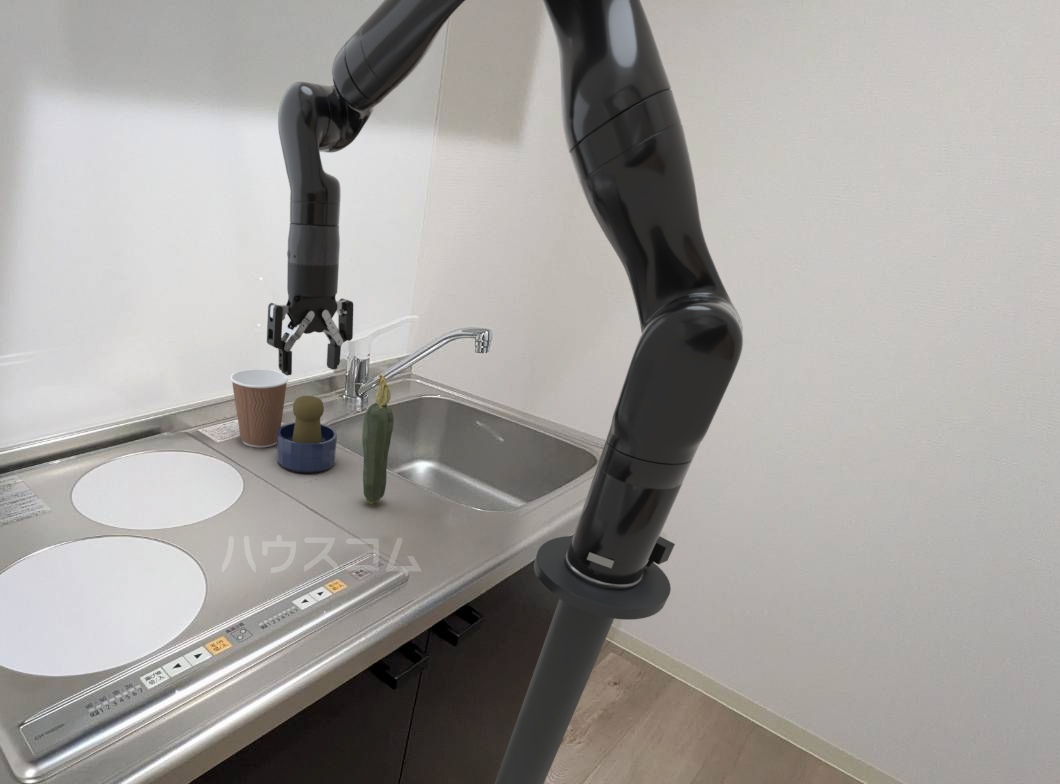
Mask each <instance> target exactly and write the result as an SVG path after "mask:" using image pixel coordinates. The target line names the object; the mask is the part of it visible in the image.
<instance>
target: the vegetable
mask: <svg viewBox="0 0 1060 784" xmlns="http://www.w3.org/2000/svg"><path fill="white" fill-rule="evenodd" d="M377 377H379V379H378V383H377V385H378V386H377V390H376V392H375V397H374V400H375V402H374V403H372V404H371V405H370V406H368V408H367V409H366V411H365V413H364V417H363V423H362V436H361V437H362V439H361V440H362V452H363V471H362V485H363V487H362V489H363V495H364V498H365V500H366V502H368V503H369V504H370V505H372V504H374V503H378V502H379V501H380V500H381V499H382V498H383V497H384V496H385V492H386V486H387V474H388V473H387V467H388V459H389V451H390V446H391V440H392V434H393V431H394V421H395V419H394V413H393V410H392V409H391V407H390V406H389V405H388V404H389V402H390V400H391V389H390V387H389V384H388V383H387V378H386V377H385V376H384V375H382V374H379V375H377Z"/></svg>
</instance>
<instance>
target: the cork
mask: <svg viewBox="0 0 1060 784" xmlns="http://www.w3.org/2000/svg"><path fill="white" fill-rule="evenodd" d="M324 411H325V407H324V402H323V401H322V399H320V398H319V397H317V396H314V395H302V396H299V397H296V398H295V399H294V401H293V404H292V412H293V416H294V417H295V420H294V422H295V426H294V432H293V438H292V441H293V442H298V443H308V444H313V443H322V436H321V424H322V423H321V417H322V416H323V415H324Z"/></svg>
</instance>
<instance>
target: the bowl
mask: <svg viewBox="0 0 1060 784" xmlns="http://www.w3.org/2000/svg"><path fill="white" fill-rule="evenodd" d="M320 424H321V436H322V443H313V444H308V443H298V442H293V441H292V438H293V432H294V426H295V421H294V422H289V423H286V424H283V425H281V427H280V428H279V429H278V431H277V443H276V460H277V463H278V464H279V465H281V466H282V467H284V468H285V469H287V470H289V471H292V472H295V473H300V474H313V473H315V474H316V473H320V472H323V471H326V470H327V469H329V468H331V467H332V466H333V465H335V462H336V457H337V442H338V441H337V440H338V433H337V431H336V430H335V429H334V428H333V427H331V426H329V425H326V424H323V423H320Z"/></svg>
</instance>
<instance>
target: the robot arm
mask: <svg viewBox="0 0 1060 784" xmlns="http://www.w3.org/2000/svg"><path fill="white" fill-rule="evenodd" d="M464 2H466V0H383V1H381V3H380V4H379V5H378V6H377V7H376V9H375V10H373V12H372V13H371V14H370V15H369V16H368V18H366V20H365V21H364V22H363V23H361V25H360V27H358V28H357V30H356V31H355V32H354V33H353V34H352V35H351V36H350V37H349V38H348V39H347V41H345V43H344V44H343V45H342V46H341V47H340V48H339V50H338V52H337V53H336V54H335V57H334V59H333V62H332V67H331V77H332V82H333V85H331V86H330V85H325V84H320V83H319V84H318V83H314V82H308V81H296V82H293V83H292V84H290V85H289V86H288V87H287V88H286V89H285V91H284V93H283V95H282V97H281V100H280V102H279V107H278V113H277V130H278V136H279V141H280V147H281V153H282V157H283V161H284V166H285V172H286V176H287V180H288V184H289V192H290V193H289V227H288V228H289V229H288V236H287V253H286V256H287V273H286V275H287V277H286V278H287V279H286V281H287V283H286V284H287V285H286V286H287V287H286V289H287V297H288V298H287V302H286V303H285V304H277V303H274V302H270V303H269V304H268V306H267V323H266V324H267V326H266V343H267V344H268V345H269V346H271V347H273V348H275V349H277V351H278V369H279V371H280V372H281V373H283V374H285V375H287V376H291V375H292V374H293V351H292V348H293V347H294V345H295V344H296V342H297V341H298V340H300V339H301V337H302V335H304V334H305V335H308V334H309V335H310V334H312V333H324V335H325V336H326V337H327V340H328V341H329V343H327V349H326V351H327V352H326V353H327V354H326V367H327V368H328V369H330V370H337V369H338V366H339V365H340V363H341V351H342V345H343V344H344V343H345V342H347V341H348V342H350V341H352V340H353V337H354V302H353V301H352V300H349V299H346V298H339V300H336V295H337V294H338V289H339V288H338V287H339V285H338V284H339V270H340V269H339V267H340V249H341V239H340V213H341V198H342V197H341V196H342V195H341V193H342V192H341V190H342V189H341V183H340V181H339V179H338V178H337V177H336V176H335V175H332V174H330V173H328V172H326V171H325V170H324V167H323V163H322V158H321V154H320V153H326V154H327V153H328V154H330V153H331V154H333V153H338V152H339V151H342V150H344V149H345V148H347V147H349V146H350V145H351V144H352V143H353V142H354V141H355V140H356V138H357V137H358V136H359V134H360V133H361V131H362V129H363V128H364V126H365V125H366V124H367V122H368V120H370V117H371V116H372V114H373V112H374V111H375V108H376V107H377V106H378V105H380V103H382V102H383V101H384V100H385V99H386V98H387V97H388V96H390V94H392V93H393V92H394V91H396V89H397V88H399V86H400V85H401V84H403V83H404V82H405V81H406V80H407V79H408V78H409V77H410V76H411V74H413V72H414V71H415V70H416V69H417V68H418V67H419V66H420V65H421V63H422V62H423V60H424V59H425V57H426V56H427V54H428V53H429V51H430V49H431V48H432V46H433V44H434V43H435V41H436V39H437V37H438V35H439V34H440V33H441V30H442V29H443V27H444V26H445V25H446V23H447V22H448V20H449V19H450V18H451V17H452V15H453V14H454V13H455V12H456V11H457V10H458V9H459V7H461V5H463V4H464ZM542 2H543V5H544V8H545V10H546V13H547V15H548V18H549V21H550V23H551V26H552V29H553V32H554V36H555V39H556V44H557V47H558V48H557V49H558V55H559V68H560V109H561V121H562V129H563V134H564V139H565V143H566V147H567V150H568V153H569V156H570V159H571V162H572V166H573V168H574V171H575V174H576V176H577V179H578V183H579V185H580V188H581V191H582V194H583V196H584V198H585V200H586V202H587V204H588V206H589V209H590V210H591V212H592V214H593V216H594V218H595V220H596V222H597V224H598V225H599V227H600V229H601V231H602V232H603V234H604V237H605V238H606V239H607V241H608V242H609V244H610V245H611V247H612V249H613V251H614V252H615V254H616V256H617V257H618V259H619V260H620V263H621V264H622V267H623V268H624V271H625V274H626V276H627V278H628V281H629V284H630V289H631V291H632V295H633V299H634V303H635V307H636V311H637V315H638V319H639V320H638V321H639V325H640V331H641V335H640V337H639V338H638V341H637V344H636V346H635V349H634V352H633V354H632V357H631V360H630V362H629V366H628V369H627V372H626V375H625V378H624V381H623V385H622V387H621V391H620V393H619V396H618V400H617V402H616V405H615V407H614V408H615V409H614V410H613V414H612V418H611V424H610V427H609V430H608V433H607V436H606V439H605V442H604V446H603V448H602V452H601V455H600V457H599V459H598V463H597V466H596V469H595V472H594V475H593V478H592V480H591V483H590V487H589V490H588V493H587V496H586V499H585V501H584V504H583V507H582V510H581V512H580V515H579V518H578V522H577V524H576V527H575V530H574V532H573V535H572V536H573V538H572V541H571V544H570V547H569V550H568V551H567V553H566V556H565V565H566V567H567V569H568V570H569V571H570V572H571V573H572V574H573V575H574V576H576V577H577V578H579V579H580V580H582V581H584V582H586V583H588V584H591V585H593V586H596V587H599V588H603V589H608V590H629V589H632V588H635V587H636V586H638V585H639V583H640V581H641V579H642V576H643V572H644V570H645V567H646V566H647V567H650V565H651V564H652V563H655V564H656V565H657V566H659V565H661V564H663V563H665V562H668V561H669V558H670V556H671V554H672V552H673V550H674V547H675V545H676V543H674V542H672V541H670V540H668V539H666V538H664V537H662V536H661V533H662V531H663V529H664V528H665V524H666V522H667V520H668V518H669V515H670V514H671V511H672V509H673V506H674V505H675V502H676V499H677V497H678V495H679V493H680V490H681V488H682V486H683V483H684V481H685V479H686V476H687V474H688V472H689V469H690V467H691V465H692V463H693V460H694V458H695V456H696V454H697V451H698V449H699V447H700V445H701V443H702V442H703V441H704V439H705V437H706V436H707V433H708V431H709V429H710V427H711V424H712V422H713V421H714V418H715V416H716V414H717V411H718V409H719V407H720V405H721V402H722V400H723V398H724V396H725V394H726V392H727V390H728V387H729V385H730V384H731V380H732V378H733V376H734V373H735V372H736V369H737V367H738V364H739V361H740V359H741V356H742V352H743V346H744V329H743V323H742V322H743V321H742V319H741V317H740V315H739V313H738V309H736V307H735V305H734V304H733V302H732V300H731V298H730V296H729V294H728V291H727V289H726V287H725V285H724V283H723V281H722V278H721V277H720V274H719V272H718V270H717V267H716V264H715V263H714V260H713V258H712V255H711V253H710V250H709V247H708V245H707V242H706V239H705V236H704V235H705V234H704V231H703V227H702V222H701V216H700V209H699V201H698V195H697V189H696V188H697V187H696V183H695V177H694V172H693V167H692V161H691V157H690V152H689V147H688V143H687V139H686V134H685V130H684V126H683V123H682V120H681V117H680V113H679V109H678V106H677V102H676V100H675V96H674V93H673V90H672V86H671V82H670V80H669V78H668V75H667V72H666V69H665V66H664V65H663V61H662V58H661V54H660V53H659V52H660V51H659V48H658V45H657V42H656V40H655V36H654V34H653V31H652V27H651V24H650V23H649V19H648V16H647V14H646V12H645V9H644V7H643V4H642V1H641V0H542ZM335 314H337V315H338V316H337V317H338V319H337V320H338V321H337V322H338V327H337V324H336V323H335V321H334V320H333V317H334V316H335ZM286 315H287V317H288V318H289V319H288V321H287V322H286V324H285V326H284V327H283V321H285V319H286Z"/></svg>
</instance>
